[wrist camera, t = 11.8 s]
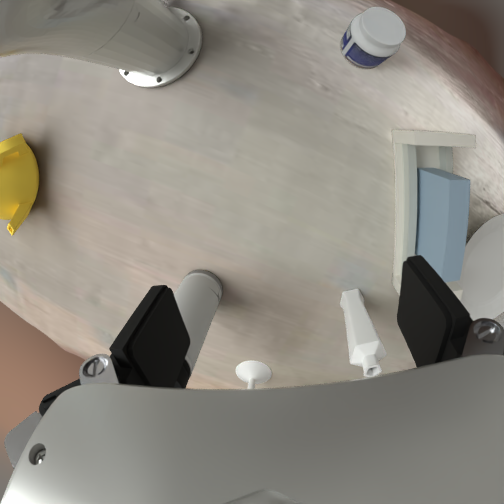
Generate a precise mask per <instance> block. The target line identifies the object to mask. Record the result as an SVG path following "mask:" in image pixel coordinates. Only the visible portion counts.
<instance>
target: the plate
mask: <svg viewBox="0 0 504 504" xmlns="http://www.w3.org/2000/svg"><path fill="white" fill-rule="evenodd" d="M456 282H457V284H458V285H459V286H460V287H461V288H462V289H463V292H462V297H461V300H460V302H461V303H462V304H463V306H464V307H465V308H466V309H467V311H468V312H469V313H470V317H471V318H472V320H473V321H475V320H476V319H479V318H489V319H494V318H496V317H497V316H499V315H500V314H501V313H503V312H504V214H501V215H498V216H495V217H493V218H491V219H490V220H488V221H487V222H485V223H484V224H483V225H482V226H481V227H480V228H479V229H478V230H477V231H476V232H475V233H474V234H473V235H472V237H471V238H470V240H469V241H468V243H467V244H466V246H465V252H464V259H463V265H462V271H461V276H460V280H458V281H456Z"/></svg>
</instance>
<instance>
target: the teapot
mask: <svg viewBox="0 0 504 504" xmlns="http://www.w3.org/2000/svg"><path fill="white" fill-rule="evenodd" d="M38 187H39V169H38V164H37V161H36V158H35V155H34V153H33V151H32V150H31V149H30V147H29V146H28V145H27V144H26V142H25V140H24V138H23V136H22V134H21V133H20V134H18V135H16V136H14V137H11V138H9V139H6V140H4V141H2V142H0V219H4V220H11V221H10V223H8V227H7V229H8V230H9V232H10V233H11V235H13V234H14V233H15V232H16V230H17V229H18V228H19V227H20V225H21V224H22V223H23V221H24V220H25V219H26V218H27V216H28V215H29V212H30V210H31V207H32V206H33V203H34V201H35V199H36V195H37V192H38Z"/></svg>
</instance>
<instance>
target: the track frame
mask: <svg viewBox="0 0 504 504" xmlns="http://www.w3.org/2000/svg"><path fill="white" fill-rule="evenodd" d="M392 138H393V151H394V167H395V246H394V263H393V276H392V284H393V286H394V287H395V289H396V291H397V292H398V294H399V296H400V289H401V278H402V266H403V262H404V261H406V260H407V258H408V257H410V256H416V254H415V242H416V225H417V168H437V169H440V170H443V171H446V172H449V173H452V174H453V152H452V147H467V148H476V136H475V135H471V134H462V133H450V132H436V131H415V130H392ZM445 283H446V284H447V285H448V287H449V288H450V289H451V290H452V292H453V293H454V294H455V295H456V297H457V298H458V299H459V300H461V297H462V292H463V289H462V288H461V287H460V286H459V285H458V284H457V282H456V281H452V282H445Z"/></svg>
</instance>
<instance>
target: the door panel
mask: <svg viewBox="0 0 504 504" xmlns="http://www.w3.org/2000/svg"><path fill="white" fill-rule="evenodd" d="M469 202H470V180H469V179H466V178H463V177H460V176H458V175H455V174H452V173H449V172H446V171H443V170H440V169H437V168H417V225H416V242H415V254H416V256H417V255H421V256H423V257H424V259H425V260H426V261H427V262H428V263H429V264H430V265H431V267H432V268H433V269H434V270H435V271H436V272H437V273H438V275H439V276H440V277H441V278H442V279H443V281H444V282H452V281H458V280H460V276H461V271H462V265H463V259H464V252H465V245H466V237H467V228H468V216H469Z"/></svg>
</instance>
